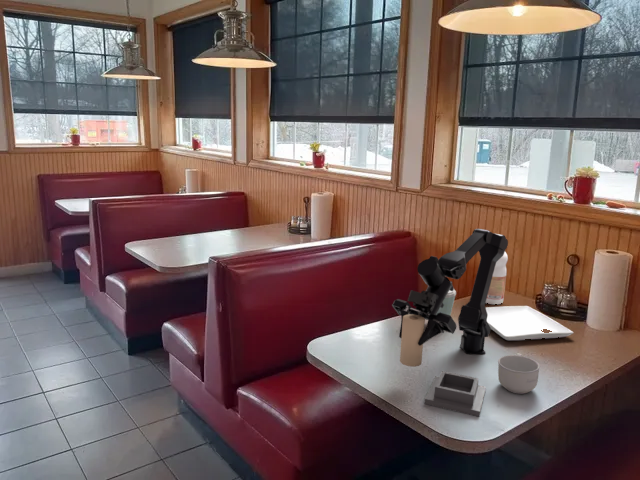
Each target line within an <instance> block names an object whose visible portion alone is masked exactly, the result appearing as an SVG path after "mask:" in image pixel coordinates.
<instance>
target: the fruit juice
mask: <svg viewBox="0 0 640 480" xmlns="http://www.w3.org/2000/svg"><path fill="white" fill-rule="evenodd" d="M508 257H509V256H508V254H507V252H506V251H505V252H504V255H503V256H502V257H501V258H500V259H499V260H498V261H497V262H496V265H495V269H494V272H493V276H492V280H491V284H490V287H489V291H488V295H487V299H486V303H485V304H487V303H488V304H489V305H495V304H497V305H501V303H502V304H503V302H504V299H505V298H504V297H505V290H506V283H507V282H506V281H507V263H508V261H509V258H508Z"/></svg>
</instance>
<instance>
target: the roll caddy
mask: <svg viewBox="0 0 640 480" xmlns="http://www.w3.org/2000/svg"><path fill="white" fill-rule="evenodd" d="M479 380H480V379H479V378H478V377H472V376H468V375H464V374H458V373H454V372H449V371H443V370H442V371H441V372H440V375H439V376H437V375H436V376H435V377H434V379H433V380H432V382H431V385H430V386H429V389H428V392H427V393H426V395H425V398H424V405H429V406H432V407H436V408H440V409H444V410H448V411H454V412H458V413H461V414H466V415H470V416H473V417H474V416H475V417H478V418H479V417H480V416H481V412H482V408H483V403H484V401H485V400H484V399H485V395H486V390H487V389H486V388H487V387H486V386H483V385H479Z"/></svg>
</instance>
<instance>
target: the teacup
mask: <svg viewBox="0 0 640 480" xmlns="http://www.w3.org/2000/svg"><path fill="white" fill-rule="evenodd" d="M497 363H498V368H497V369H498V370H497V371H498V372H497V374H498V382H499V383H500V384H501V386H502V387H503V388H504V389H506V390H507V391H508V392H511V393H514V394H520V395H521V394H523V395H524V394H527V393H529V392H531V391H533V390H534V389H535V388H536V387H537V385H538V382H539V381H538V380H539V372H540V367H541V366H540V364H539V362H538V361H536V359H535V360H534V359H532V358H530V357H527V356H524V355H523V354H522V353H519V352H518V353H515V354H510V355H504V356H500V358H499V359H498V361H497Z"/></svg>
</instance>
